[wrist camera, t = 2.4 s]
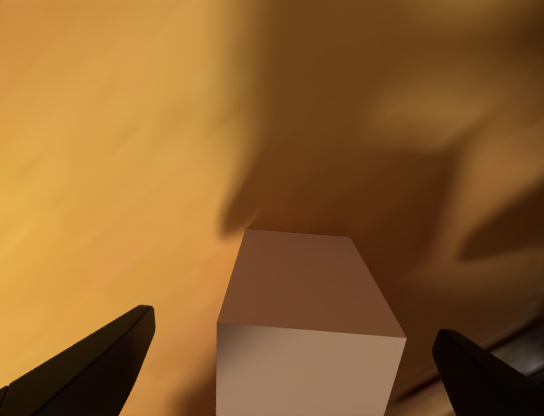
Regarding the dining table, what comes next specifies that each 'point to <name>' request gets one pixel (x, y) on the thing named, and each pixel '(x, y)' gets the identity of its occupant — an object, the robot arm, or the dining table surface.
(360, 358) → the tan rectangular block
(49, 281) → the dining table surface
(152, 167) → the dining table surface
